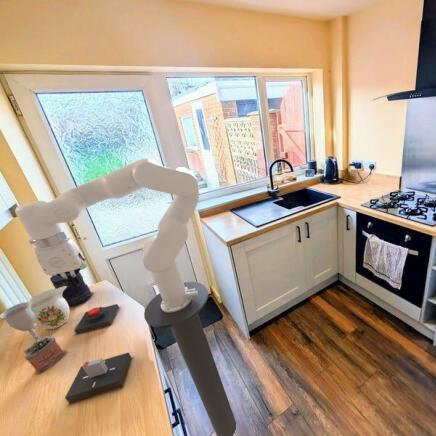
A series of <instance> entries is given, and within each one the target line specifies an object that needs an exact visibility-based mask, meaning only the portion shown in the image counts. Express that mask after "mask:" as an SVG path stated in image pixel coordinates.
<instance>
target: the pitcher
mask: <svg viewBox="0 0 436 436" xmlns="http://www.w3.org/2000/svg"><path fill="white" fill-rule="evenodd" d="M66 287H67V286H63V287H60V288H57V289H55V288H52V289H49V290H45V291H43V292H41V293H38V294H36V295H35V296H33V297H31V298H30V299H28V300H27V301H26V302H28V303H29V308H30V309H31V310H32V312H33V313H34V317H35V322H34V327H33V328H32V330H35V329H38V328H42V329H45V330H54V329H57V328H59V327H61V326H63V325H65V324H66V323H67V322H68V320H69V319H70V314H71V313H70V307H69V306H68V303H67V302H66V300H65V299H64V298H63V297H62V294H63V291H64V290H65V289H66Z"/></svg>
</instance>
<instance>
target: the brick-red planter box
mask: <svg viewBox="0 0 436 436" xmlns="http://www.w3.org/2000/svg"><path fill="white" fill-rule="evenodd" d="M41 338H42V339H40V340H37V341H35V340H34V342H35V343H34V342H33V344H31V345H30V346H28V347H26V348H25V349H24V350H23V353H24V354H25V356H24V359H25V360H26V361H27V362H28V363H29V364H30V365H31V366H32V368H33V369H34V370H35V372H36V373H37V374H41V373H43V372H45V371H46V370H48V369H49V368H50V367H52V366H54V364H55V363H57V362H58V361H60V359H61V358H62V357H64V356H65V354H66V352H65V350H63V348H62V347H61V346H60V344H59V343H58V342H57V340H56V338H55V337H50V338H49V336H47V335H44V336H43V337H41Z"/></svg>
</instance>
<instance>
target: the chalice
mask: <svg viewBox="0 0 436 436" xmlns="http://www.w3.org/2000/svg"><path fill="white" fill-rule="evenodd" d="M0 318H1V319H2V320H5V322H6V323H7V324H8V326H9V327H11V328H13V329H15V330H18V331H20V332H28V333H29V335H30V336H31V339H34V342H33V344H34V343H35V341H37V340H40V339H42V338H43V337H39V334H38V333H37V334H36V331H35V330H34V329H32V328H33V327H34V325H35V323H34V322H35V317H34V313H33V312H32V310H31V309H30V308H29V303H28V302H27V301H25V302H20V303H18V304H15V305H12V306H11V307H9V308H7V309H5V310H4V311H3V312H2V313H0Z"/></svg>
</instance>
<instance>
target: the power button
mask: <svg viewBox="0 0 436 436" xmlns="http://www.w3.org/2000/svg"><path fill="white" fill-rule="evenodd" d="M88 311H89V312H88ZM88 311H87V312H88V314H89V316H90V317H94V316H96V315H98V314H99V313H100V312H101V311H100V309H99V307H98V306H97V307H94V308H91V309H90V310H88Z"/></svg>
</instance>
